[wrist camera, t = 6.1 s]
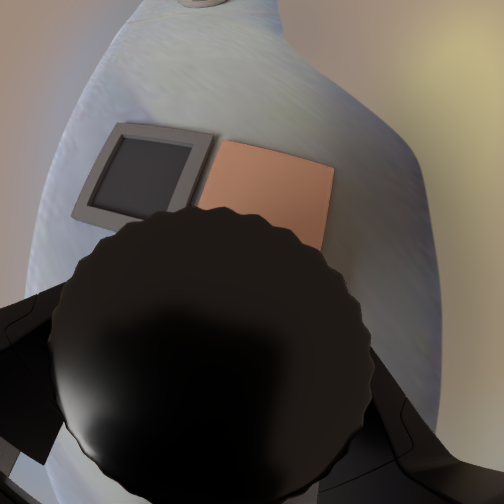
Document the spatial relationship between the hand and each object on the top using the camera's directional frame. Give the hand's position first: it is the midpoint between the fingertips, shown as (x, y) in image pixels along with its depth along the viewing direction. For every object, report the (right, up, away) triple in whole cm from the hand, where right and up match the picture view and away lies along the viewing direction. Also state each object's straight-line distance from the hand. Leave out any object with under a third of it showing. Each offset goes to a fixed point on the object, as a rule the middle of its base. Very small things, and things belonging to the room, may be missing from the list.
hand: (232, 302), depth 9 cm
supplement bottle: (-1, -3, +6) cm, 7 cm away
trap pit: (-8, +7, +12) cm, 16 cm away
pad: (+2, +5, +11) cm, 12 cm away
